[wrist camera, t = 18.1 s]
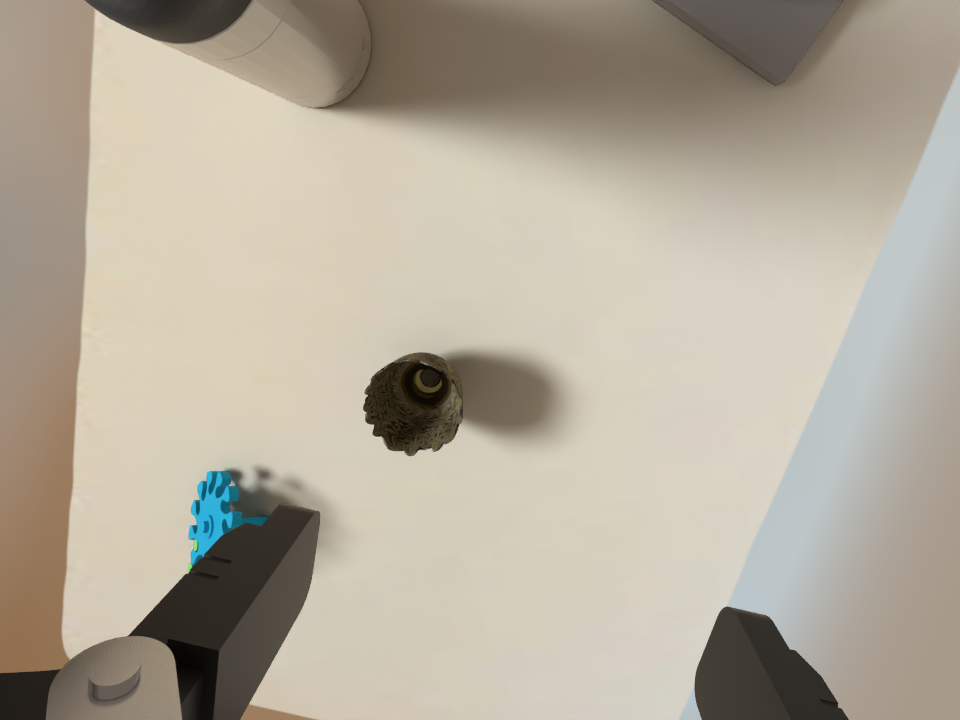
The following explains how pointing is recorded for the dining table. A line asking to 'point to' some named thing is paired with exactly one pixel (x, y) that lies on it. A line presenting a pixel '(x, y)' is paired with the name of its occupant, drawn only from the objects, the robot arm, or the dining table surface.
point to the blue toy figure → (215, 513)
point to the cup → (414, 404)
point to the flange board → (757, 29)
